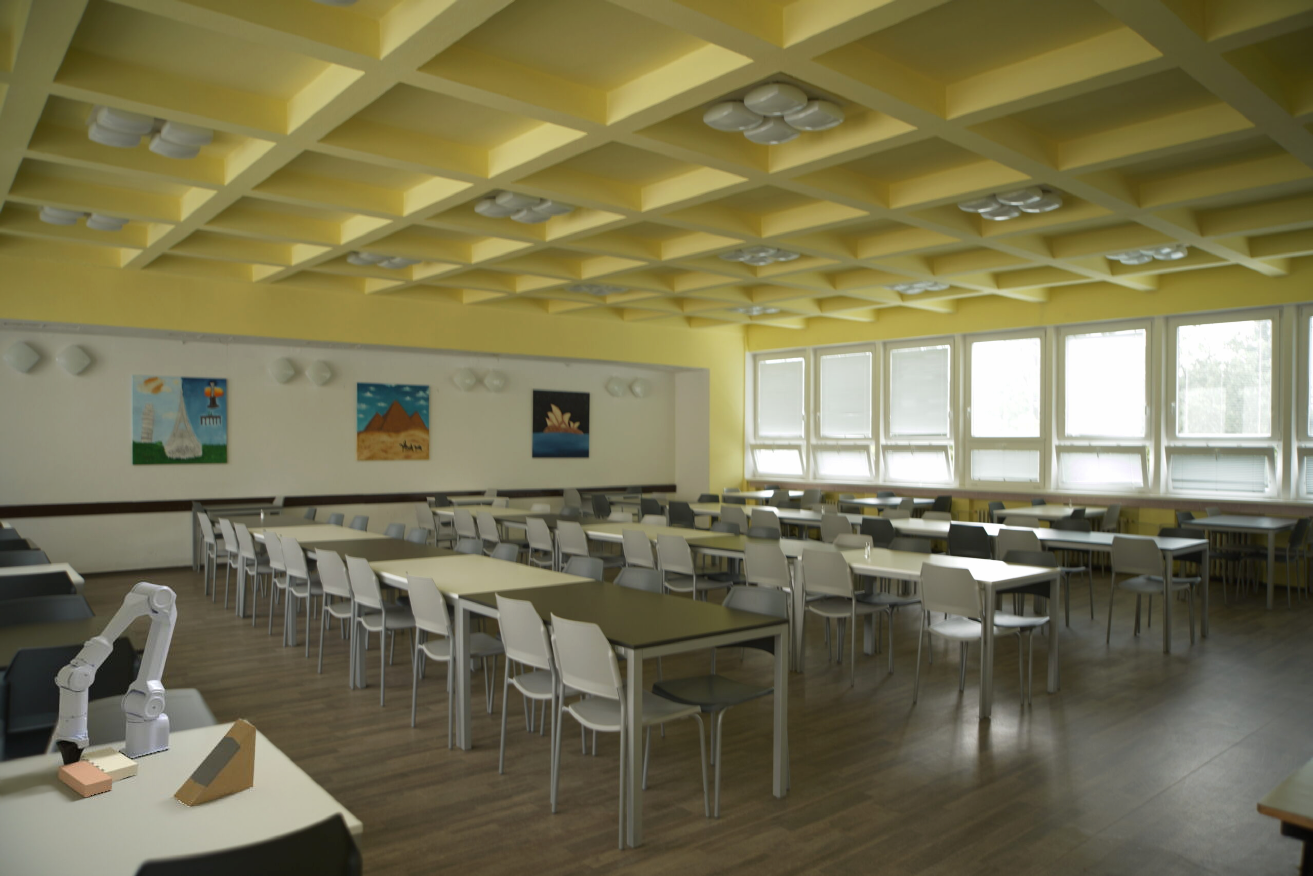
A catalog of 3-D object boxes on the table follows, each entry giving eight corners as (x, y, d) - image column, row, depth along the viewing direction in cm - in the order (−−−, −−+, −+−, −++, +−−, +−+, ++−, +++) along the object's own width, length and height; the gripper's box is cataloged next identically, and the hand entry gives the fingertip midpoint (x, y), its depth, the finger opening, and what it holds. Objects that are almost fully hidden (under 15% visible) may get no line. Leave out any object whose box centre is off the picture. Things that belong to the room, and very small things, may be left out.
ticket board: (110, 758, 217) (110, 746, 217) (137, 775, 207) (137, 763, 207) (78, 766, 211) (78, 754, 211) (104, 784, 201) (105, 772, 201)
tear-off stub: (84, 771, 208) (84, 760, 208) (111, 790, 198) (112, 778, 198) (58, 778, 203) (59, 766, 203) (85, 797, 194) (85, 785, 194)
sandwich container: (170, 797, 197) (173, 733, 197) (236, 777, 209) (239, 717, 209) (187, 808, 191) (190, 742, 191) (253, 787, 204) (256, 726, 203)
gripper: (43, 711, 207) (40, 766, 207) (65, 725, 199) (63, 782, 199) (76, 704, 213) (73, 758, 213) (99, 718, 204) (97, 774, 204)
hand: (71, 769), depth 206 cm, fingers closed
